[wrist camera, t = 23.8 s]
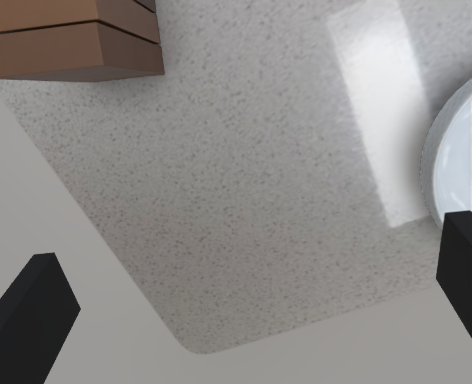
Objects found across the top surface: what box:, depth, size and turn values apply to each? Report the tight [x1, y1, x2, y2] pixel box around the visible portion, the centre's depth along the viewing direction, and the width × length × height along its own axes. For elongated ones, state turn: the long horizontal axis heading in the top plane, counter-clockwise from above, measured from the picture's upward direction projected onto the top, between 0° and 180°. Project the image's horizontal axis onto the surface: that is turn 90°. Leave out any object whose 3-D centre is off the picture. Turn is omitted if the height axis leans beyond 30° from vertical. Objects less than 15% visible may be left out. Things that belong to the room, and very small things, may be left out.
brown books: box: [0, 0, 165, 82], centre depth 28 cm, size 7×7×13 cm
